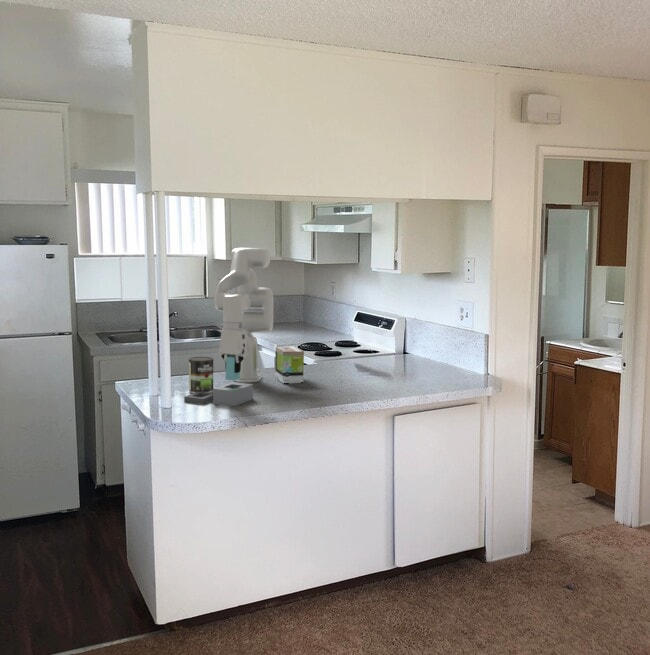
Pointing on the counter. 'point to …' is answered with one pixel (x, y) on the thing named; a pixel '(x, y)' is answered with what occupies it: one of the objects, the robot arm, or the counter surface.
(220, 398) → the port
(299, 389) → the counter surface
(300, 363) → the tea box
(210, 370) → the coffee can
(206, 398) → the holster
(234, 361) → the plug
